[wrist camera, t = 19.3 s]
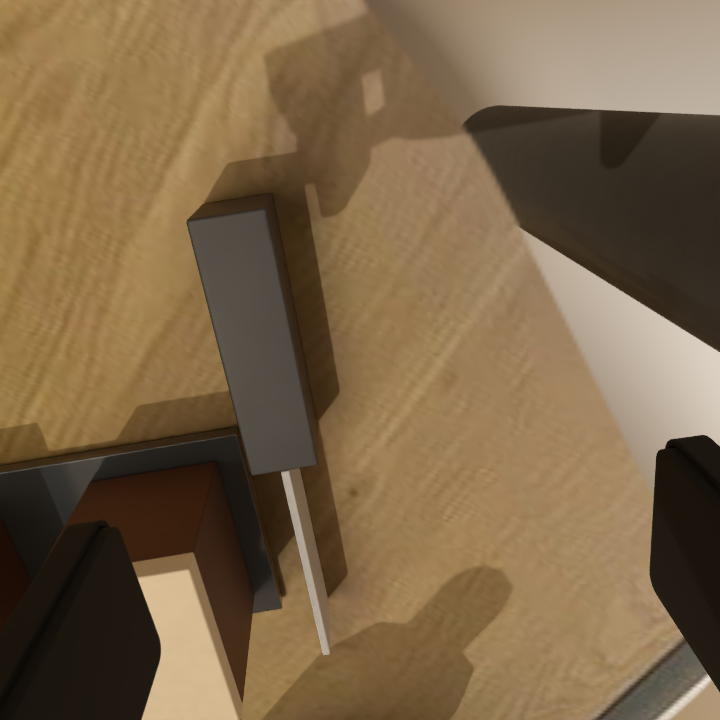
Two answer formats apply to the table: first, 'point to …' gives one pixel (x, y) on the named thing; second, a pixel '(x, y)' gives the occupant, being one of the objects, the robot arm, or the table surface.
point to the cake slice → (10, 577)
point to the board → (75, 471)
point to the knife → (263, 357)
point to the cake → (184, 584)
